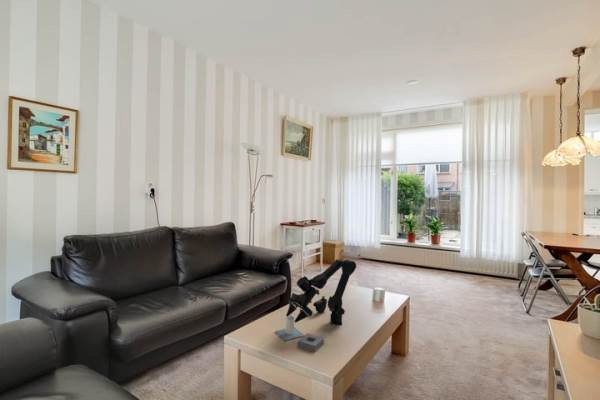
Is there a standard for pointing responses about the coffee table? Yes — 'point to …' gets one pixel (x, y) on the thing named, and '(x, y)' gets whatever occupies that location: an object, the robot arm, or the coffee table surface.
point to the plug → (289, 325)
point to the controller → (320, 305)
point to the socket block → (310, 342)
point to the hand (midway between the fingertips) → (290, 319)
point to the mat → (287, 337)
